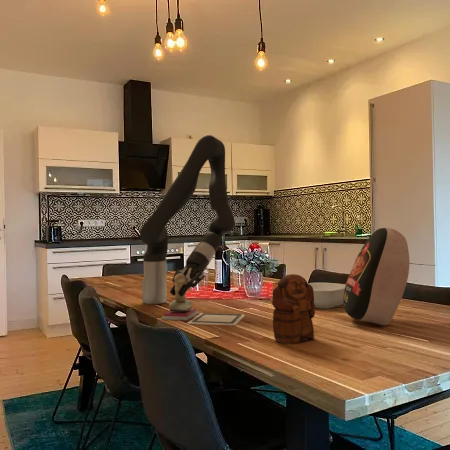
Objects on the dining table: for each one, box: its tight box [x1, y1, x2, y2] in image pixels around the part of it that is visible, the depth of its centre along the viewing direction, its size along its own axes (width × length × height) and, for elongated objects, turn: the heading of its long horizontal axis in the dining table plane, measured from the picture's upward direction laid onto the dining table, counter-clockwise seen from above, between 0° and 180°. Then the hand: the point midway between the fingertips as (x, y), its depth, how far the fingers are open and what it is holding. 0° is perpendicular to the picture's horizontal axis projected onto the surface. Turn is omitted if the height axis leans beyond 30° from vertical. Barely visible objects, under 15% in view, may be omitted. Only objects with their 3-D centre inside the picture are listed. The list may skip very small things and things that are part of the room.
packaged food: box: [342, 227, 410, 326], centre depth 147 cm, size 22×20×30 cm
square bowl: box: [307, 282, 346, 310], centre depth 179 cm, size 20×20×8 cm
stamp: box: [168, 274, 192, 311], centre depth 161 cm, size 6×6×13 cm
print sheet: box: [186, 312, 246, 327], centre depth 155 cm, size 16×16×1 cm
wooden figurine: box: [271, 273, 316, 345], centre depth 126 cm, size 12×6×18 cm, turn 120°
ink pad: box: [161, 307, 199, 321], centre depth 161 cm, size 9×12×2 cm
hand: (176, 294), depth 160 cm, fingers closed on stamp, 3 cm apart
